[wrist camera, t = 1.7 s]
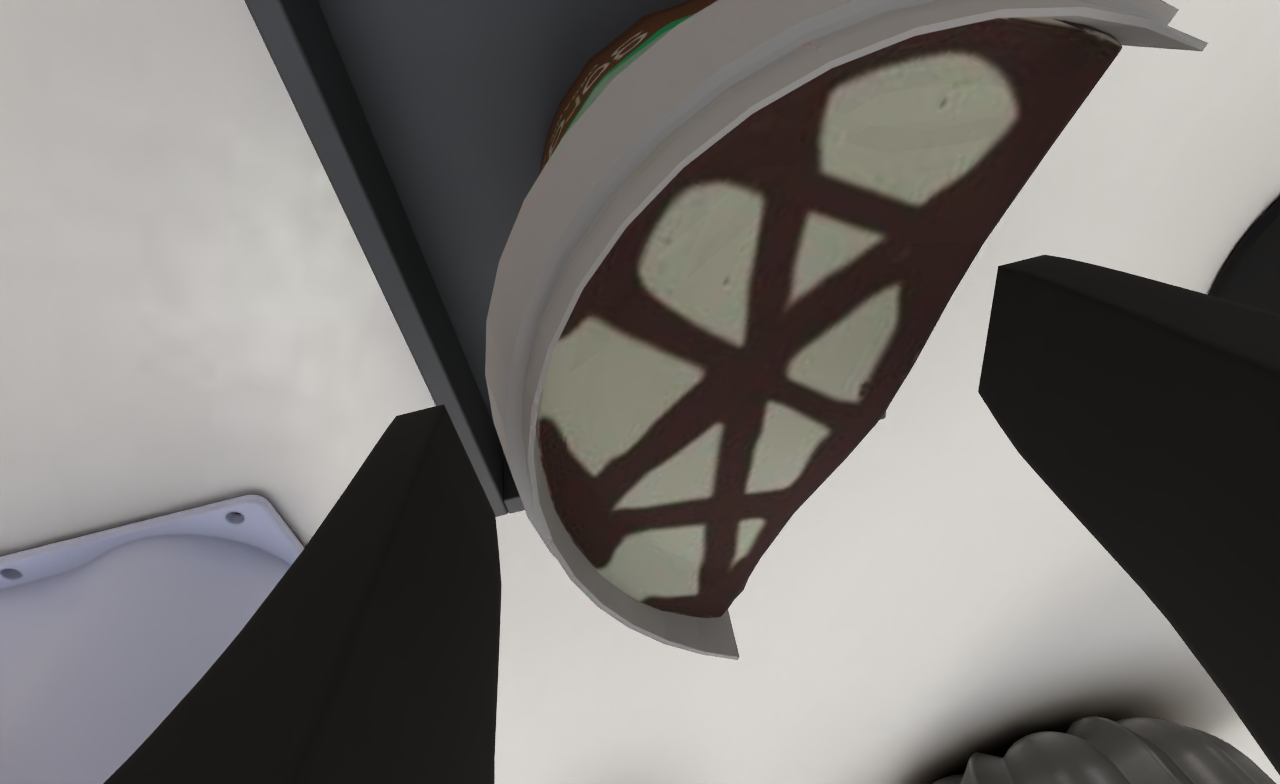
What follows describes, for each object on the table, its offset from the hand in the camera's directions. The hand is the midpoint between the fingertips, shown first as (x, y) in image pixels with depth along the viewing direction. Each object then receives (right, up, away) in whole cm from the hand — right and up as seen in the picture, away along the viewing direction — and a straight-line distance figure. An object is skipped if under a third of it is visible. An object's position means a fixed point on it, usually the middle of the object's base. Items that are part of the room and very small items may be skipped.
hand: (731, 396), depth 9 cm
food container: (-2, +6, +8) cm, 10 cm away
